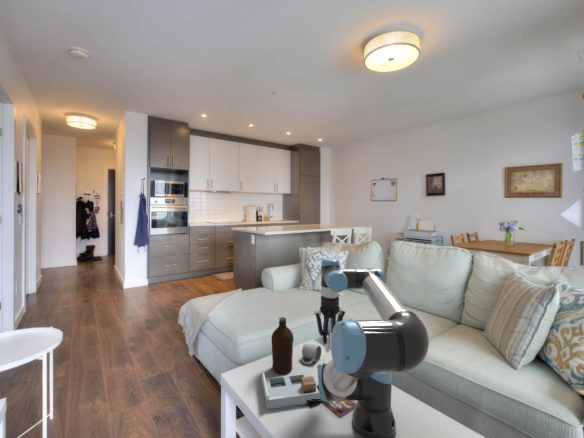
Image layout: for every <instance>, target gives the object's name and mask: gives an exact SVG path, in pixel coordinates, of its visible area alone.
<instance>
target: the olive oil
mask: <svg viewBox="0 0 584 438" xmlns="http://www.w3.org/2000/svg"><path fill="white" fill-rule="evenodd" d="M278 320H279V321H278V327H277V328H275V329H274V331H273V332H272V335H271V355H272V371H273V372H274V373H275V374H278V375H286V374H289V373H290V372H291V371H292V369H293V355H294V334H293V332H292V331H291V329H290V328H289V327H288V326H287V318H286V317H284V316H283V317H282V316H281V317H279V319H278Z"/></svg>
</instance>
